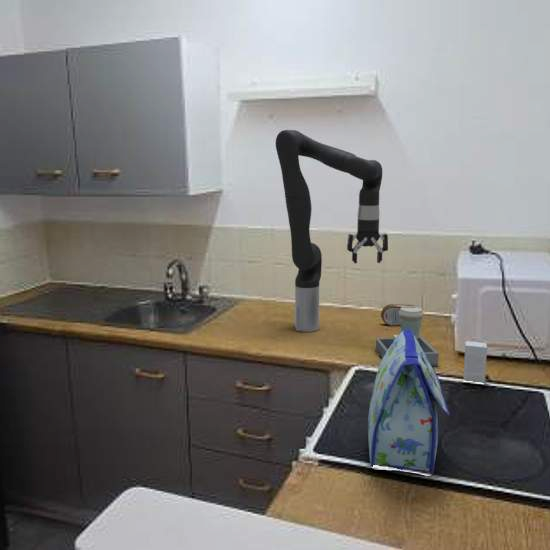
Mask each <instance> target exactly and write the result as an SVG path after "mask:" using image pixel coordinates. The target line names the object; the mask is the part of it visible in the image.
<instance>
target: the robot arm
mask: <svg viewBox="0 0 550 550" xmlns="http://www.w3.org/2000/svg"><path fill="white" fill-rule="evenodd" d="M275 149H276V153H277V158H278V162H279V164H280V165H279V166H280V170H281V175H282V177H281V178H282V184H283V189H284V198H285V199H284V200H285V204H286V205H285V206H286V210H287V211H286V212H287V217H288V224H289V228H290V229H289V231H290V241H291V242H290V243H291V258H292V262H293V264H294V266H295V267H296V268H297V269H298V271H297V274H296V276H295V282H294V283H295V284H294V286H295V287H294V293H295V294H294V297H295V298H294V299H295V300H294V329H295V331H296V332H304V333H305V332H307V333H310V332H311V333H312V332H317V331H318V330H320V282H321V277H322V263H323V255H322V251H321V249H320V246H318V245H317V244H315V243H314V242H312V241H311V234H310V225H311V221H312V220H311V218H312V202H311V201H312V200H311V193H310V189H309V186H308V184H307V182H306V179H305V177H304V175H303V173H302V170H301V167H300V166H301V165H300V157H304V158H305V157H306V158H309V159H313V160H316V161H318V162H320V163H322V164H323V165H325V166H326V167H329V168H331V169H334V170H337V171H339V172H343V173H347V174H349V175H350V176H353V177H354V178H356V179H358V180H361V181H362V187H361V189H360V190H359V193H358V209H357V231H356V234H351V233H349V234H348V235H347V245H346V250H347V251H348V252H351V261H352V262H353V263H354V264H357V262H358V251H359V250H360V249H361V248H362V247H364V248H365V247H375V249H376V250H377V252H376V254H377V255H376V263H377V264H381V262H382V261H383V253H384V252H387V251H389V246H388V245H389V238H388V237H389V236H388V234H387V233H384V232H383V233H381V234H380V232H379V231H380V190H381V186H382V181H383V180H382V179H383V166H382V164H381V162H379V161H378V160H375V159H369V160H368V159H365V158H363V157H360V156H357V155H356V154H354V153H352V152H350V151H346V150H345V149H340V148H337V147H333V146H330V145H327V144H324V143H322V142H319V141H317V140H315V139H312V137H309V136H307V135H305V133H302V132H300V131H299V130H295V129H284V130H281V131H280V132H279V133H278V134H277V136H276V137H275ZM299 156H300V157H299ZM355 239H356V240H357V242H356V244H355V245H354V247H353V243H354V241H355ZM380 239H381V241H382V247H381V246H380V244H379V243H378V241H379V240H380Z"/></svg>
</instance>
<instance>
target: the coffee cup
mask: <svg viewBox="0 0 550 550" xmlns="http://www.w3.org/2000/svg"><path fill="white" fill-rule="evenodd" d="M399 314H400V324H401V326H400V332H401V331H402V330H405V329H409V330H410V331H411V332H412V333H414V334H415V337H420V333H421V329H422V328H421V326H422V323H423V322H422V321H423V316H424V312H423V309H422V308H421V307H420V306H415V305H414V306H404V307H401V309H400V311H399Z"/></svg>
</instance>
